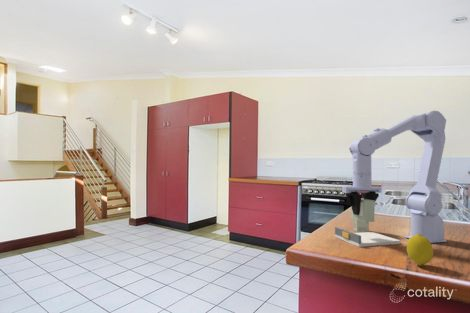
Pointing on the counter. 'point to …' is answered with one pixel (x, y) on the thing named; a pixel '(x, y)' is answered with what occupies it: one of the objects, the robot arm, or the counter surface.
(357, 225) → the skincare box
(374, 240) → the shelf board
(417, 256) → the lemon
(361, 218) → the carton
